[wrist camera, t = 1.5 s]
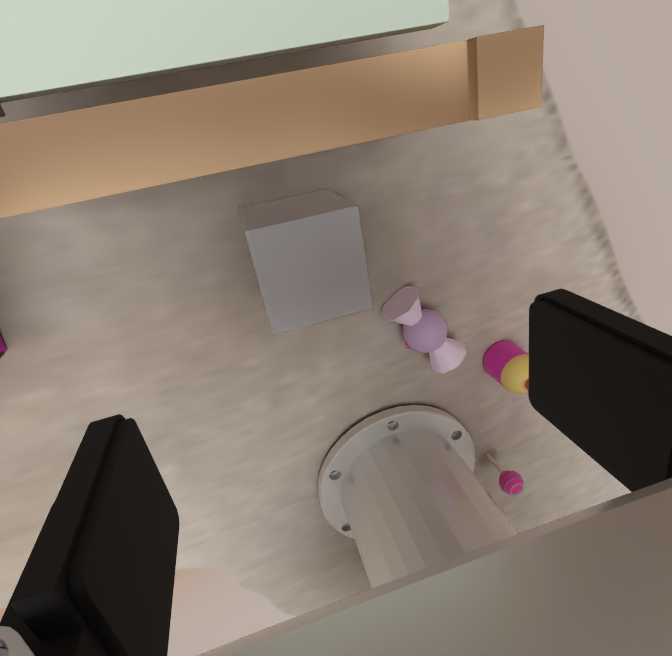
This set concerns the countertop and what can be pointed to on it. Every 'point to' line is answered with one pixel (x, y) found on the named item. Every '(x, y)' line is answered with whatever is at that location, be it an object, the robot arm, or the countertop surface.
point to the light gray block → (307, 258)
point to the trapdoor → (178, 36)
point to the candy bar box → (2, 347)
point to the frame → (263, 119)
